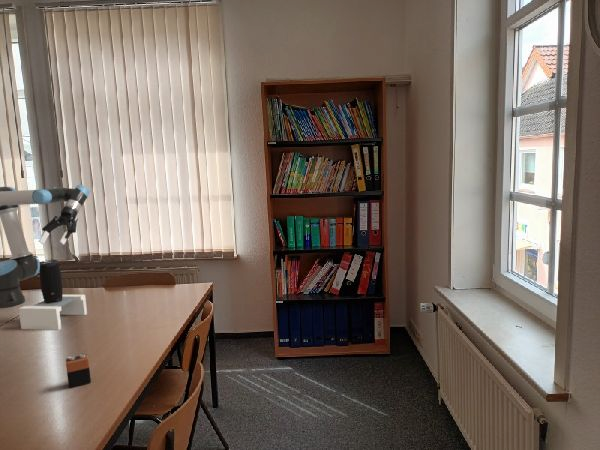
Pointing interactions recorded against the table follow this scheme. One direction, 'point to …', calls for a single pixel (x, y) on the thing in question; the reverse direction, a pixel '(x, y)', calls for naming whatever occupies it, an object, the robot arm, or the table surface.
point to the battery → (78, 370)
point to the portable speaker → (51, 281)
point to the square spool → (51, 312)
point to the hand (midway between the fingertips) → (51, 242)
